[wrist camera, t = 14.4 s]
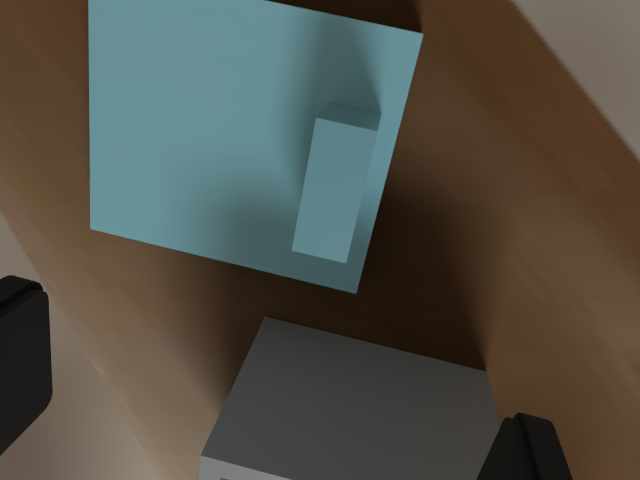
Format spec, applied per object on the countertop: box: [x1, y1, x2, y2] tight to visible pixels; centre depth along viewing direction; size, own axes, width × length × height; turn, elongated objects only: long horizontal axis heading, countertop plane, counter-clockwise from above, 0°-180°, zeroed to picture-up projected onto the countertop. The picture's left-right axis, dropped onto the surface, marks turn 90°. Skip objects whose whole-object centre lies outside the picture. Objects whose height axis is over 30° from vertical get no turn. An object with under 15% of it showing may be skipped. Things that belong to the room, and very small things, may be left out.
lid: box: [88, 0, 423, 294], centre depth 24 cm, size 15×13×6 cm
